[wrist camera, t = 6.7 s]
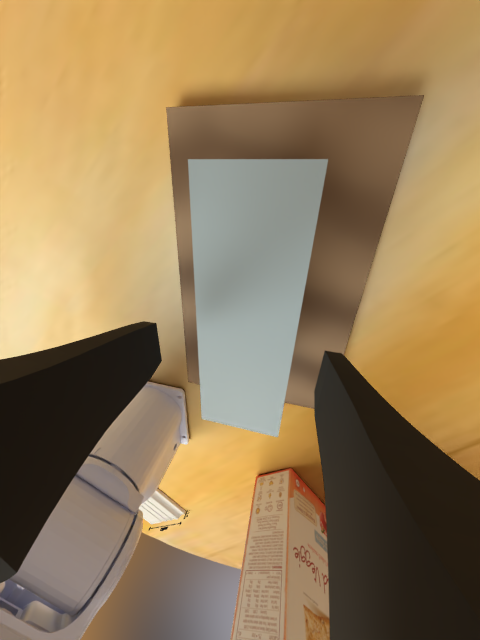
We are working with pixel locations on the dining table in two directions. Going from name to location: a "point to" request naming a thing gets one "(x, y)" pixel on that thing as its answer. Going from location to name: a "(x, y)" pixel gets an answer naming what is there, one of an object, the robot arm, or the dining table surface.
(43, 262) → the dining table surface
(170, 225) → the dining table surface
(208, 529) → the dining table surface
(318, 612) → the cracker box
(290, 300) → the pale grey block
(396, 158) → the brown slab
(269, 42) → the dining table surface
